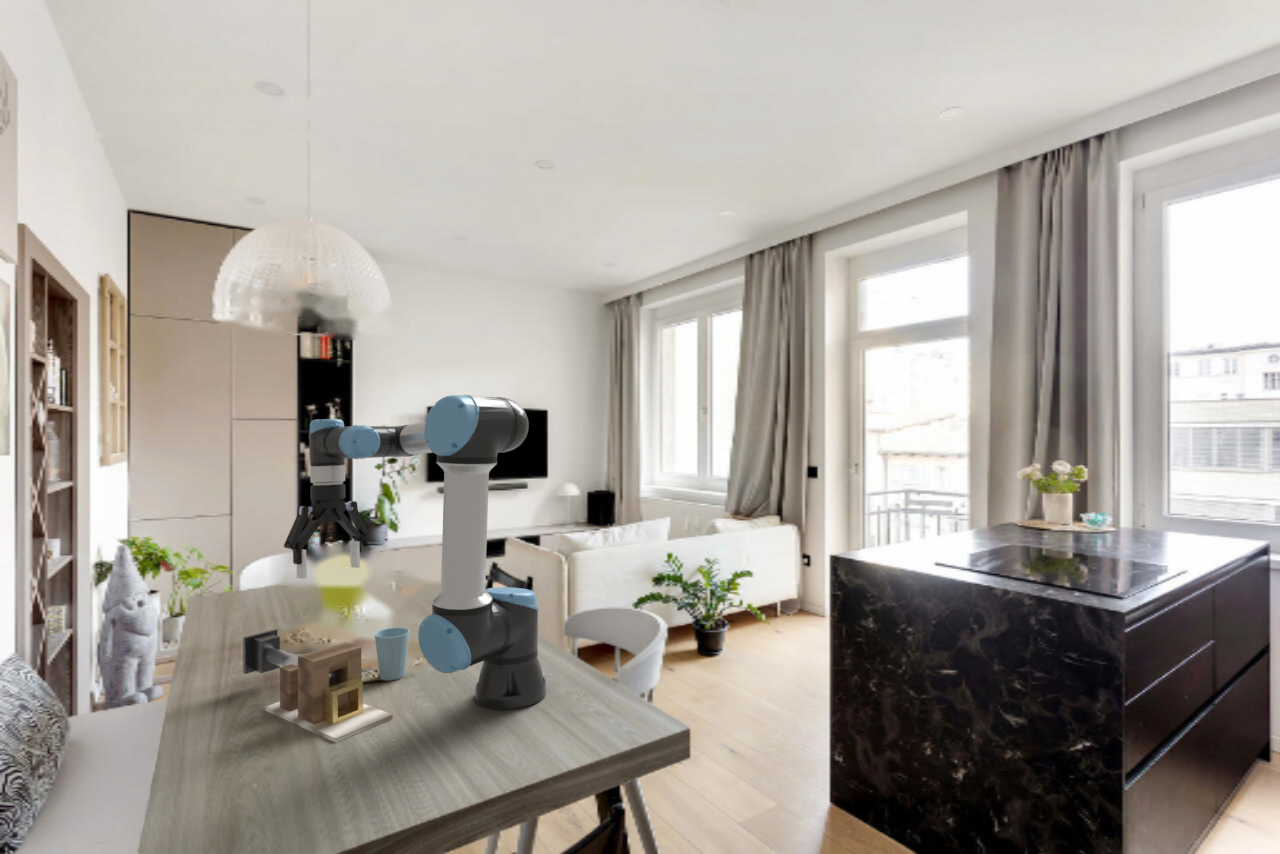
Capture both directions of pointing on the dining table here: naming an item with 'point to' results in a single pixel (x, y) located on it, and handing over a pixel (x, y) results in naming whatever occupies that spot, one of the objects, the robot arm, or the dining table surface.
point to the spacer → (331, 701)
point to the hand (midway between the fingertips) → (329, 572)
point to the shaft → (268, 654)
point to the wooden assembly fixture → (307, 692)
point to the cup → (392, 652)
